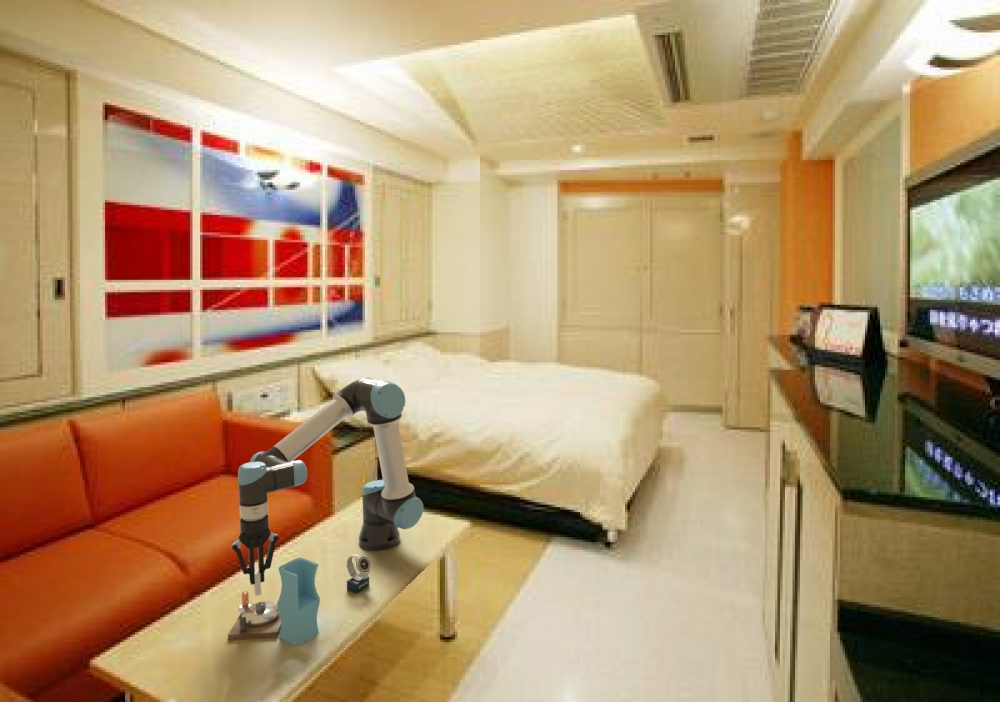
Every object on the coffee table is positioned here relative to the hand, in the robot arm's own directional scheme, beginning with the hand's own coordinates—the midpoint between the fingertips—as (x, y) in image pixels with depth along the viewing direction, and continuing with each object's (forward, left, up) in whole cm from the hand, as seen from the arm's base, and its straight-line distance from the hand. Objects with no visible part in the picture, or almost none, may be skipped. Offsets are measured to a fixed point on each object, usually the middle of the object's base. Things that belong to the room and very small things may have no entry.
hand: (257, 592), depth 167 cm
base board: (+5, +2, -6) cm, 8 cm away
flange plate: (+5, +1, -4) cm, 6 cm away
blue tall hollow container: (+12, +15, -6) cm, 20 cm away
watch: (-11, +27, -6) cm, 30 cm away
